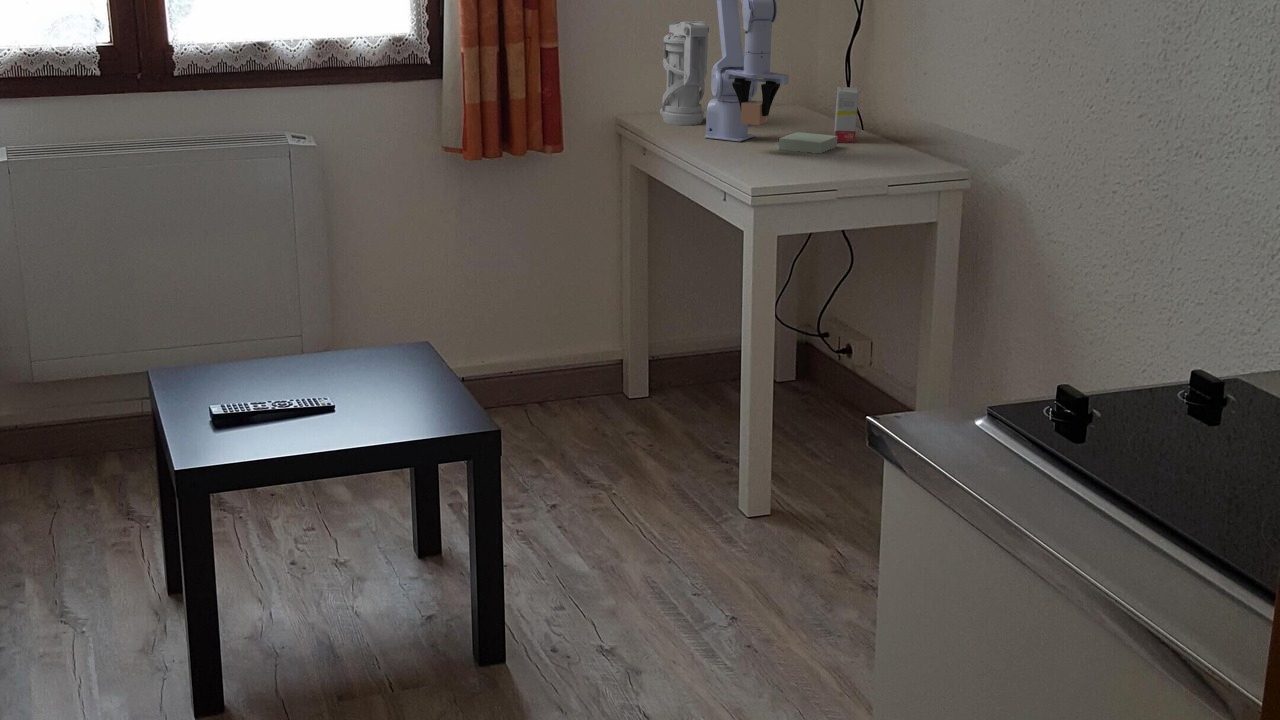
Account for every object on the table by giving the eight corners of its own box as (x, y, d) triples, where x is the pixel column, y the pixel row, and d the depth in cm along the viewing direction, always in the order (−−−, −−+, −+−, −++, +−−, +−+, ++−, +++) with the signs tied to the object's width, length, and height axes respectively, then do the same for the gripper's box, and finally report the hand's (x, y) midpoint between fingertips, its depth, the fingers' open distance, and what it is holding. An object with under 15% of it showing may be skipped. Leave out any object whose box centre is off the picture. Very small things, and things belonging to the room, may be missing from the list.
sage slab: (778, 149, 306) (779, 138, 305) (796, 142, 315) (796, 131, 314) (820, 153, 302) (820, 142, 301) (836, 147, 310) (837, 136, 309)
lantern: (655, 119, 342) (656, 18, 334) (692, 117, 346) (694, 17, 338) (677, 128, 331) (680, 23, 323) (715, 125, 335) (718, 21, 327)
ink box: (855, 143, 315) (859, 92, 311) (834, 142, 315) (837, 91, 311) (854, 137, 323) (857, 86, 319) (833, 136, 323) (836, 86, 320)
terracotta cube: (740, 123, 301) (741, 103, 300) (749, 120, 305) (750, 100, 303) (759, 125, 299) (760, 104, 297) (767, 122, 303) (768, 101, 301)
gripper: (719, 51, 297) (717, 113, 301) (780, 56, 290) (777, 120, 295) (733, 48, 303) (731, 109, 307) (793, 53, 296) (790, 115, 301)
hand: (754, 114), depth 301 cm, fingers closed on terracotta cube, 4 cm apart
